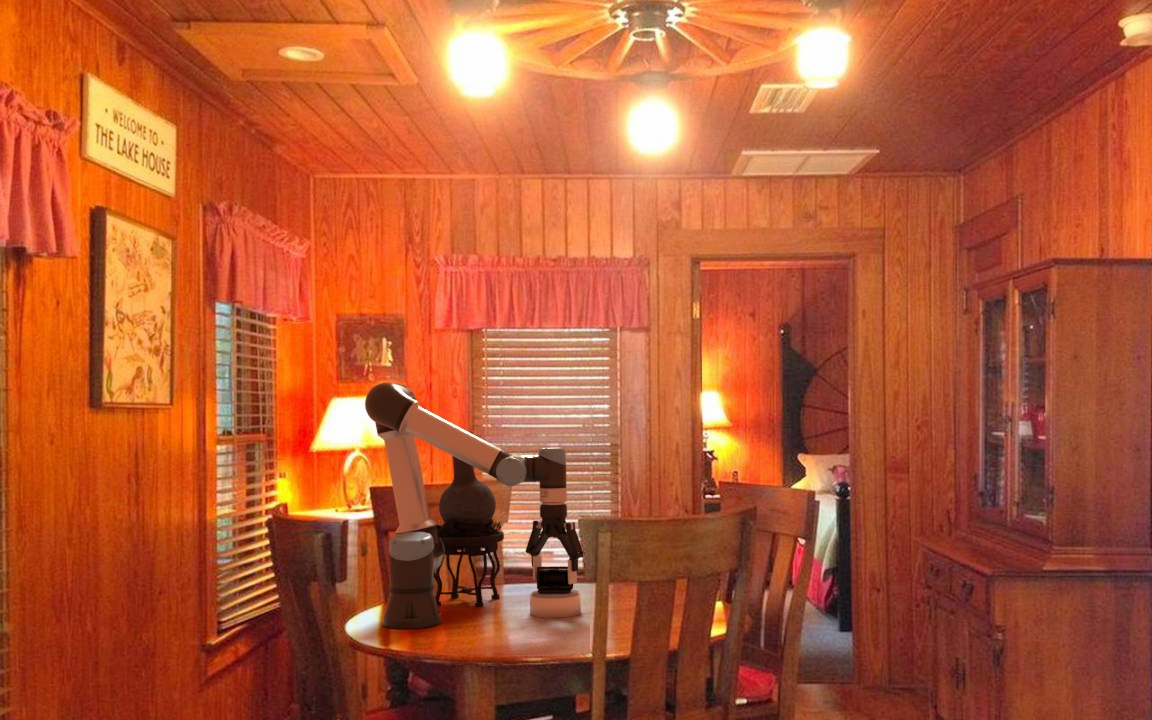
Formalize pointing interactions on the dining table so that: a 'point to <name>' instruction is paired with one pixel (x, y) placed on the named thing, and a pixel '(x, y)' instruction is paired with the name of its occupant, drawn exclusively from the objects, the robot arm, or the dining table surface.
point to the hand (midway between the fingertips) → (554, 581)
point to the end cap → (553, 580)
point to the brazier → (468, 529)
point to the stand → (555, 604)
